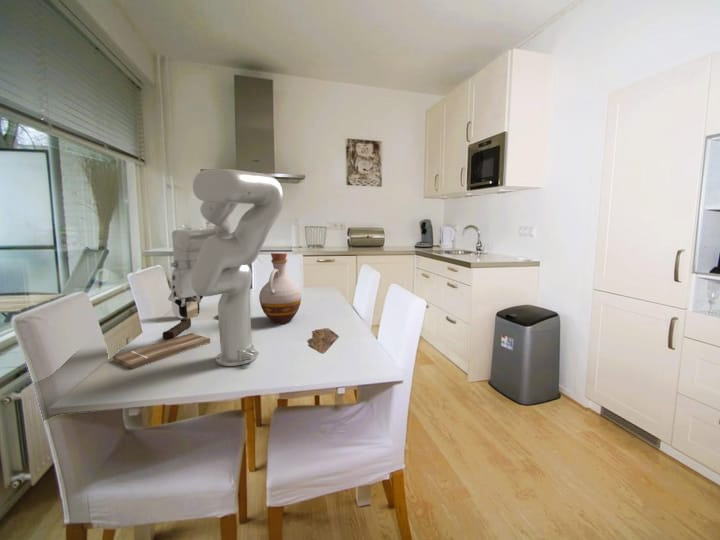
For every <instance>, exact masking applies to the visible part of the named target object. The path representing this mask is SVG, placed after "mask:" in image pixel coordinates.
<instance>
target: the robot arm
mask: <svg viewBox="0 0 720 540" xmlns="http://www.w3.org/2000/svg"><path fill="white" fill-rule="evenodd" d="M192 191H193V194H194V196H195V197H196V198H197V199H198V200H199V201H202V203H201V205H200V214H201V215H202V217H203V218H204V219H205V221H207V222H209V223H210V224H213V225H214V227H213V228H210V229H209V228H208V229H207V228H204V229H189V228H187V229H186V228H184V229H182V228H180V229H179V228H178V229H174V230H173V231H172V233H171V234H172V235H171V236H172V237H171V238H172V253H173V262H171V263H170V267H171V268H173V269H172V274H171V291H170V292H171V293H170V294H169V296H168V298H167V300H168V301H171V303H172V302H174V303H176V304H177V305H178V306H179V314H180V316H182V317H187V310H186V306H185V298H189V297H193V298H197V304H198V315H199V314H200V303H201V302H202V299H203V298H204V297H205V298H206V297H213V296H217V295H221V296H220V298H219V301H218V304H217V315H218V317H217V318H218V328H219V329H218V330H219V331H218V332H219V343H220V347H219V348H220V353H218V354H217V355H216V357H215V363H217V364H218V365H219V366H224V367H236V366H242V365H246V364H249V363H251V362H253V361H255V360H256V359H257V358H258V356H259V354H260V353H259V351H257V350H256V349H255V345H254V344H253V339H252V338H253V336H252V335H253V334H252V318H251V287H252V280H253V279H252V278H253V273H252V269H251V266H250V265H251V264H253V263H254V262H255V261H256V259H257V258H258V256H259V254H260V252H261V250H262V248H263V246H264V244H265V242H266V240H267V237H268V235H269V232H270V230H271V229H272V228H273V225H274V224H275V222H276V221H277V219H278V218H279V216H280V214H281V212H282V209H283V204H284V192H283V188H282V184H281V183H280V182H279V180H278V179H276V178H275V177H274V176H272V175H269V174H267V173H262V172H255V171H254V172H253V171H247V170H246V171H245V170H239V169H238V170H237V169H230V168H229V169H227V168H225V169H224V168H222V169H221V168H220V169H204V170H201V171H199V172H198V173H197V174H196V175H195V177H194V179H193V183H192ZM239 204H244V205H245V204H248V205H252V204H253V205H252V206H251V207H250V208H249V209H248V210H247V211H246V212H245V213H244V214H243V215H241V218H239V221H238V222H237V223H238V224H237V226H236V228H235V229H234V231H232V232H231V230H232V229H231V222H230V219H229V218H230V217H231V215H232V214H233V212H234V210H235V209H236V208H237V206H238V205H239ZM175 297H178V299H175Z"/></svg>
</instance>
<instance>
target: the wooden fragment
mask: <svg viewBox="0 0 720 540" xmlns="http://www.w3.org/2000/svg"><path fill="white" fill-rule="evenodd" d="M311 332H312V335H311V336H312V337H311V338H308V339H307V342H308V347H310V348H312V349H313V350H316V351H318V353H320V354H322V355H323V354H325V353H326V351H327V350H328V349H330V348H331V346H332V344H333V343H334V342H335V341H336V340H337V339H338V338H339V337H340V336H339V335H338V334H337V333H336V332H334V330H331V329H330V327H324V328H323V327H322V328H320V329H314V330H312V331H311Z"/></svg>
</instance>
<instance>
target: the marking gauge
mask: <svg viewBox="0 0 720 540" xmlns="http://www.w3.org/2000/svg"><path fill="white" fill-rule="evenodd" d="M185 306H186V310H187V317H183V318H187V319H189V318H190V319H192V318H195V317H199V314H198V304H197V298H193V297H189V298H185ZM181 317H182V316H181Z"/></svg>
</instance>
